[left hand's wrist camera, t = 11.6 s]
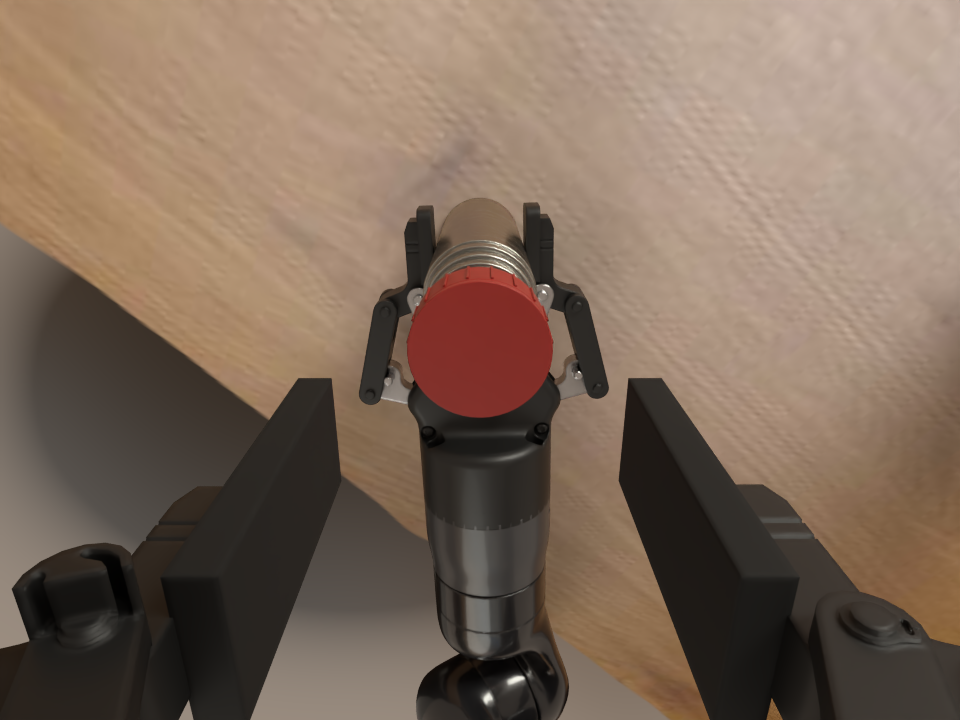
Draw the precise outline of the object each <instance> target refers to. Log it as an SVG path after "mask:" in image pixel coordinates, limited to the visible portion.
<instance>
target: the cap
mask: <svg viewBox="0 0 960 720" xmlns="http://www.w3.org/2000/svg"><path fill="white" fill-rule="evenodd" d="M411 321H413V323H412V326H411V329H410V333H409V336H408V339H407V356H408V363H409V366H410V370H411V373H412V375H413V377H414V379H415V381H416V383H417V384H418V386H419V387H420V389H421V390H422V391H423V392H424V394H425V395H426V396H427V397H429V398H430V399H431V400H432V401H433V402H434V403H436V404H437V405H439V406H440V407H442V408H444V409H446V410H448V411H450V412H452V413H455V414H459V415H462V416H467V417H478V418H483V417H493V416H498V415H501V414H505V413H508V412H510V411H512V410H514V409H516V408H518V407H520V406H521V405H523V404H524V403H525V402H527V401H528V400H529V399H530V398H532V396H533V395H534V394H535V393H536V392H537V391H538V390H539V388H540V387H541V386H542V384H543V382H544V381H545V379H546V377H547V375H548V372H549V369H550V366H551V362H552V354H553V345H552V343H553V339H552V336H551V333H550V330H549V326H548V323H547V321H549V320H548V317H547V314H546V311H545V309H544V306H541V304H540V302H539V300H538V298H537V297H536V295H535V294H534V292H533V289H532V287H530V288H529V287H528V286H527V285H526V284H525V283H524V282H523V281H521V280H520V279H518V278H517V277H515V274H513V273H512V274H510V273H507V272H505V271H502V270H499V269H495V268H493V266H490V268H489V267H470V266H467V268H465V269H461V270H458V271H455V272H452V273H450V274H448V273H446V274H445V276H444V277H443V278H441V279H440V280H439V281H437V282H436V283H435V284H434V285H433V286H432V287H431V288H430V287H428V288H427V292H426V294H425V295H424V297H423V298H422V300H421V301H420V304H419V306H416V308H415V311H414V314H413V317H412V320H411Z"/></svg>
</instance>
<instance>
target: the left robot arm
mask: <svg viewBox="0 0 960 720" xmlns="http://www.w3.org/2000/svg"><path fill="white" fill-rule="evenodd" d="M340 483H341V472H340V462H339V452H338V441H337V431H336V420H335V410H334V399H333V389H332V378H298V380H297V381H296V382H295V384H294V385H293V387H292V388H291V390H290V391H289V392H288V394H287V395H286V397H285V398H284V400H283V401H282V403H281V404H280V405H279V407H278V408H277V410H276V411H275V413H274V414H273V415H272V417H271V418H270V420H269V421H268V423H267V424H266V426H265V427H264V428H263V430H262V431H261V433H260V434H259V436H258V437H257V438H256V440H255V441H254V443H253V444H252V446H251V447H250V449H249V450H248V451H247V453H246V454H245V456H244V457H243V459H242V460H241V462H240V463H239V464H238V466H237V467H236V469H235V470H234V472H233V473H232V474H231V476H230V477H229V479H228V480H227V482H226V483H225V484H224V486H223V487H221V486H218V487H217V486H207V487H206V486H204V487H203V486H199V487H196V488H195V489H193V490H192V491H190V492H189V493H187V494H186V495H184V496H183V497H181V498H180V499H178V500H177V501H175V502H174V503H173V504H172V505H171V507H170V508H169V509H168V510H167V512H166V513H165V514H164V515H163V517H162V518H161V519H160V521H159V525H156V526H155V527H154V528H153V529H152V531H151V532H150V533H149V534H148V536H147V537H146V541H143V542H142V543H141V544H140V546H139V547H138V548H137V549H136V551H135V552H134V553H133V554H132V556H131V553H130V552H128V551H127V550H126V549H125V548H123V547H122V546H120V545H115V544H109V543H97V544H86V545H82V546H78V547H75V548H71V549H68V550H64V551H61V552H59V553H57V554H55V555H53V556H51V557H49V558H47V559H45V560H43V561H41V562H39V563H38V564H37V565H35V566H34V567H32V568H31V569H30V570H28V571H27V572H26V573H24V574H23V575H22V576H21V578H20V579H19V580H18V581H17V583H16V584H15V585H14V587H13V588H12V591H13V594H14V597H15V599H16V602H17V605H18V608H19V611H20V614H21V617H22V620H23V623H24V625H25V628H26V631H27V634H28V637H29V642H26V643H22V644H19V645H15V646H10V647H6V648H1V649H0V720H179V718H180V716H181V714H182V712H183V710H184V708H185V706H186V704H187V702H188V700H189V702H190V706H191V711H192V715H193V719H194V720H250V719H251V716H252V713H253V711H254V708H255V706H256V703H257V700H258V698H259V695H260V692H261V690H262V687H263V685H264V682H265V679H266V677H267V674H268V671H269V669H270V666H271V664H272V661H273V658H274V656H275V653H276V651H277V648H278V645H279V643H280V640H281V637H282V635H283V632H284V630H285V627H286V624H287V622H288V619H289V616H290V614H291V611H292V609H293V606H294V603H295V601H296V598H297V596H298V593H299V590H300V588H301V585H302V582H303V580H304V577H305V574H306V572H307V569H308V567H309V564H310V561H311V559H312V556H313V554H314V551H315V548H316V546H317V543H318V540H319V538H320V535H321V533H322V530H323V527H324V525H325V522H326V519H327V517H328V514H329V512H330V509H331V506H332V504H333V501H334V499H335V496H336V493H337V491H338V488H339V485H340ZM619 483H620V485H621V488H622V491H623V493H624V496H625V499H626V501H627V504H628V506H629V509H630V512H631V514H632V517H633V520H634V522H635V525H636V527H637V530H638V533H639V535H640V538H641V540H642V543H643V546H644V548H645V551H646V554H647V556H648V559H649V561H650V564H651V567H652V569H653V572H654V575H655V577H656V580H657V582H658V585H659V588H660V590H661V593H662V596H663V598H664V601H665V603H666V606H667V609H668V611H669V614H670V616H671V619H672V622H673V624H674V627H675V630H676V632H677V635H678V637H679V640H680V643H681V645H682V648H683V651H684V653H685V656H686V658H687V661H688V664H689V666H690V669H691V672H692V674H693V677H694V679H695V682H696V685H697V687H698V690H699V692H700V695H701V698H702V700H703V703H704V706H705V708H706V711H707V713H708V716H709V719H710V720H766V719H767V715H768V711H769V706H770V702H771V698H772V699H773V701H774V703H775V705H776V707H777V709H778V711H779V713H780V715H781V717H782V719H783V720H960V646H957V645H953V644H948V643H944V642H940V641H937V640H933V639H930V638H929V636H928V635H927V633H926V632H925V630H924V629H923V627H922V626H921V624H919V623H918V622H917V621H916V620H915V619H914V618H912V617H911V616H910V615H909V614H908V613H906V612H905V611H904V610H902V609H900V608H899V607H897V606H895V605H893V604H891V603H889V602H888V601H886V600H884V599H881V598H878V597H875V596H872V595H869V594H866V593H863V592H859V590H858V589H857V588H856V587H855V585H854V584H853V583H852V582H851V580H850V579H849V578H848V577H847V575H846V574H845V573H844V572H843V570H842V569H841V568H840V567H839V565H838V564H837V563H836V562H835V560H834V559H833V558H832V557H831V555H830V554H829V553H828V552H827V550H826V549H825V548H824V547H823V545H822V544H821V543H820V542H819V540H818V539H815V538H814V534H813V533H812V532H811V530H810V529H809V528H808V527H807V525H806V524H805V523H802V519H801V518H800V517H799V515H798V514H797V513H796V512H795V510H794V509H793V508H792V507H791V505H790V504H789V503H788V502H787V501H786V500H785V499H783V498H782V497H780V496H779V495H777V494H776V493H775V492H773V491H772V490H770V489H769V488H767V487H766V486H764V485H736V484H735V483H734V482H733V480H732V479H731V477H730V476H729V474H728V473H727V472H726V470H725V469H724V467H723V466H722V464H721V463H720V461H719V460H718V459H717V457H716V456H715V454H714V453H713V451H712V450H711V449H710V447H709V446H708V444H707V443H706V441H705V440H704V438H703V437H702V436H701V434H700V433H699V431H698V430H697V428H696V427H695V426H694V424H693V423H692V421H691V420H690V418H689V417H688V415H687V414H686V413H685V411H684V410H683V408H682V407H681V405H680V404H679V403H678V401H677V400H676V398H675V397H674V395H673V394H672V392H671V391H670V390H669V388H668V387H667V385H666V384H665V382H664V381H663V380H662V378H628V389H627V399H626V410H625V420H624V431H623V441H622V452H621V462H620V472H619Z"/></svg>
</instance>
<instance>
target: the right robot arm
mask: <svg viewBox="0 0 960 720" xmlns="http://www.w3.org/2000/svg"><path fill="white" fill-rule="evenodd" d="M404 235H405V248H406V261H407V274H408V282H407V283H406V284H405V285H403V286H401V287H398V288H396V289H387V290H385V291H384V292H383V293H382V294H381V296H380V299H379V301H378V302H377V303H376V305H375V307H374V310H373V316H372V322H371V327H370V333H369V339H368V344H367V350H366V356H365V362H364V367H363V373H362V379H361V385H360V390H359V397H360V399H361V400H362V402H364V403H365V404H369V405H373V404H376V403H378V402H379V401H380V399H384V400H389V401H394V402H399V403H404V404H408V407H409V410H410V411H411V413H412V414H413V415H414V417H415V419H416V420H417V423H418V426H419V435H420V448H421V461H422V474H423V487H424V499H425V513H426V526H427V534H428V541H429V545H430V549H431V553H432V557H433V563H434V578H435V591H436V603H437V614H438V621H439V625H440V629H441V632H442V634H443V636H444V638H445V639H446V641H447V642H448V644H449V645H450V646H451V647H452V648H453V649H454V650H456V651H457V652H458V653H460V654H458V655H456V656H454V657H452V658H450V659H449V660H447V661H445V662H443V663H441V664H440V665H438V666H436V667H435V668H434V669H432V670H431V671H430V672H429V673H428V674H427V675H426V676H425V677H424V679H423V680H422V682H421V684H420V687H419V690H418V694H417V700H416V712H417V719H418V720H557V719H558V718H559V717H560V715H561V713H562V711H563V709H564V706H565V704H566V701H567V697H568V691H569V683H568V677H567V673H566V670H565V667H564V664H563V662H562V659H561V656H560V654H559V651H558V648H557V645H556V642H555V639H554V635H553V632H552V628H551V625H550V622H549V618H548V615H547V611H546V607H545V556H546V549H547V544H548V538H549V527H550V454H551V420H552V417H553V415H554V413H555V411H556V410H557V408H558V406H559V404H560V400H562V399H566V398H569V397H573V396H577V395H581V394H584V393H588V395H589V396H590V397H592V398H595V399H599V398H602V397H604V396H605V395H606V394H607V392H608V390H609V386H608V382H607V377H606V373H605V369H604V365H603V361H602V357H601V353H600V349H599V345H598V341H597V336H596V332H595V328H594V324H593V320H592V316H591V312H590V308H589V304H588V301H587V300H586V298H585V296H584V294H583V293H582V291H581V289H580V288H579V287H578V286H577V285H575V284H566V283H563V282H560V281H558V280H556V279H555V278H554V277H553V239H554V228H553V225H552V223H551V220H550V218H549V216H548V215H547V214H540V206H539V204H538V203H537V202H535V203H524V205H523V244H524V249H525V252H526V255H527V258H528V261H529V264H530V267H531V270H532V273H533V276H534V279H535V282H536V287H537V298H538V300H539V302H540V304H541V306H544V309H545V311H546V314H547V315H548V312H549V310H550V308H552V309H555V310H558V311H561V312H564V315H565V319H566V323H567V326H568V330H569V334H570V338H571V342H572V346H573V349H574V353H575V354H573V355H570V356H568V357H567V358H566V359H565V361H564V371H563V374H562V375H561V376H560V377H559V378H557V379H554V377H553V376H552V375H551V373H550V372H548V375H547V377H546V379H545V381H544V382H543V384H542V386H541V387H540V388H539V390H538V391H537V392H536V393H535V394H534V395H533V396H532V398H530V399H529V400H528V401H527V402H525V403H524V404H523V405H521V406H520V407H518V408H516V409H514V410H512V411H510V412H508V413H505V414H501V415H498V416H493V417H483V418H478V417H467V416H462V415H459V414H455V413H452V412H450V411H448V410H446V409H444V408H442V407H440V406H439V405H437V404H436V403H434V402H433V401H432V400H431V399H430V398H429V397H427V396H426V395H425V394H424V392H423V391H422V390H421V389H420V387H419V386H418V384H417V383H416V381H415V380H414V381H413V383H409V382H408V381H406V380H405V379H404V377H403V369H402V366H401V364H400V363H399V362H397V361H395V360H391V358H392V352H393V347H394V342H395V337H396V331H397V326H398V321H399V317H401V316H404V315H406V314H409V313H412V314H414V311H415V308H416V306H419V304H420V301H421V300H422V298H423V287H424V282H425V278H426V275H427V272H428V269H429V266H430V263H431V260H432V258H433V255H434V252H435V249H436V242H435V225H434V210H433V205H432V206H419V207H418V209H417V218H410V219H409V221H408V222H407V226H406V229H405V232H404Z"/></svg>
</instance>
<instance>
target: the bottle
mask: <svg viewBox="0 0 960 720" xmlns="http://www.w3.org/2000/svg"><path fill="white" fill-rule="evenodd" d="M467 266H470V267H489V268H490V266H493V268H495V269H499V270H502V271H505V272H507V273H510V274H512V273H513V274H515V277H517V278H518V279H520V280H521V281H523V282H524V283H525V284H526V285H527V286H528V287H529V288H530V287H532V289H533V292H534V294H535V295H536V297H537V287H536V282H535V279H534V276H533V273H532V270H531V267H530V264H529V261H528V258H527V255H526V252H525V249H524V246H523V243H522V240H521V237H520V235H519V232H518V229H517V226H516V223H515V220H514V218H513V216H512V215H511V213H510V212H509V211H508V210H507V209H506V208H505V207H504V206H503V205H501V204H500V203H498V202H496V201H493V200H490V199H486V198H474V199H469V200H467V201H464V202H462V203H460V204H459V205H457V206H456V207H455V208H454V209H453V210H452V211H451V212H450V213H449V215H448V216H447V218H446V220H445V222H444V225H443V228H442V231H441V234H440V237H439V240H438V243H437V246H436V249H435V252H434V255H433V258H432V260H431V263H430V266H429V269H428V272H427V275H426V278H425V282H424V287H423V297H424V295H425V294H426V292H427V288H428V287H430V288H431V287H432V286H433V285H434V284H435V283H436V282H437V281H439V280H440V279H441V278H443V277H444V276H445V274H446V273H448V274H450V273H452V272H455V271H458V270H461V269H465V268H467Z"/></svg>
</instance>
